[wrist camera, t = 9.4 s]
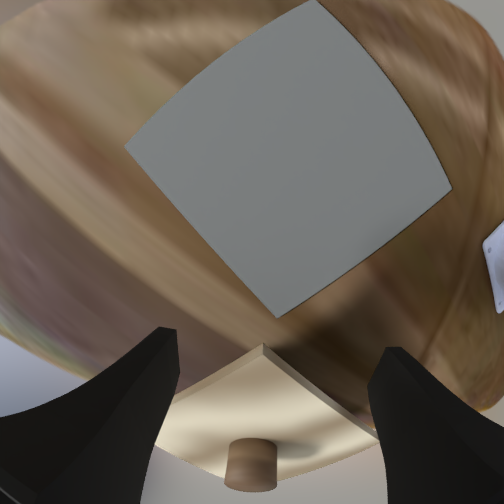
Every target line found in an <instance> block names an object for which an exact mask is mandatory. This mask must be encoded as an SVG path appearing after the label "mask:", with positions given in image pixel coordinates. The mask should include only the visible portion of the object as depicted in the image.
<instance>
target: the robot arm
mask: <svg viewBox="0 0 504 504" xmlns="http://www.w3.org/2000/svg"><path fill="white" fill-rule="evenodd" d="M488 249H489V250H488ZM483 251H484V254H485V258H486V262H487V266H488V270H489V275H490V279H491V284H492V289H493V295H494V300H495V306H496V311H497V313H501V312H502V311H503V310H504V221H503V222H502V223H501V224H500V225H499V226H498V227H497V228H496V229H495V230H494V231H493V232H492V234H491V235H490V236H489V237H488V238H487V239H486V240H485V241H484V242H483ZM179 374H180V367H179V356H178V345H177V332H176V330H175V329H170V328H164V327H158V328H157V329H155V330H154V331H153V332H152V333H151V334H149V335H148V336H147V337H146V338H145V339H143V340H142V341H141V342H140V343H139V344H137V345H136V346H135V347H134V348H133V349H131V350H130V351H129V352H128V353H126V354H125V355H124V356H123V357H121V358H120V359H119V360H117V361H116V362H115V363H114V364H112V365H111V366H109V367H108V368H107V369H105V370H104V371H102V372H101V373H100V374H98V375H97V376H95V377H94V378H92V379H91V380H89V381H88V382H86V383H84V384H83V385H81V386H79V387H78V388H76V389H74V390H72V391H70V392H69V393H67V394H65V395H63V396H61V397H58V398H56V399H54V400H51V401H49V402H47V403H45V404H42V405H40V406H37V407H35V408H32V409H29V410H26V411H23V412H20V413H16V414H13V415H9V416H5V417H0V504H140V500H141V495H142V490H143V485H144V481H145V476H146V472H147V468H148V464H149V460H150V456H151V453H152V450H153V447H154V445H155V442H156V440H157V437H158V435H159V432H160V430H161V427H162V425H163V422H164V420H165V417H166V415H167V412H168V410H169V407H170V405H171V402H172V400H173V397H174V393H175V390H176V386H177V382H178V378H179ZM367 387H368V395H369V402H370V408H371V413H372V416H373V420H374V424H375V427H376V431H377V435H378V438H379V442H380V446H381V449H382V453H383V457H384V462H385V468H386V477H387V492H388V504H504V427H502V426H500V425H499V424H497V423H495V422H493V421H491V420H489V419H488V418H486V417H485V416H483V415H481V414H480V413H479V412H477V411H476V410H474V409H473V408H471V407H470V406H468V405H467V404H466V403H464V402H463V401H462V400H461V399H459V398H458V397H457V396H456V395H455V394H453V393H452V392H451V391H450V390H449V389H447V388H446V387H445V386H444V385H443V384H442V383H441V382H440V381H438V380H437V379H436V378H435V377H434V376H433V375H432V374H431V373H430V372H429V371H428V370H426V369H425V368H424V367H423V366H422V365H421V364H420V363H419V362H418V361H417V360H416V359H414V358H413V357H412V356H411V355H410V354H409V353H408V352H406V351H405V350H404V349H403V348H401V347H386V348H385V351H384V353H383V355H382V357H381V359H380V362H379V364H378V366H377V368H376V370H375V372H374V374H373V376H372V378H371V380H370V382H369V384H368V386H367Z"/></svg>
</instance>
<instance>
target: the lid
mask: <svg viewBox="0 0 504 504" xmlns="http://www.w3.org/2000/svg"><path fill="white" fill-rule="evenodd" d="M378 443H380V442H379V438H378V435H377V432H376V431H374V430H373V429H372V428H370V427H369V426H367V425H366V424H365V423H363V422H362V421H360V420H359V419H358V418H356V417H355V416H354V415H352V414H351V413H350V412H348V411H347V410H346V409H344V408H343V407H342V406H340V405H339V404H338V403H336V402H335V401H334V400H332V399H331V398H330V397H328V396H327V395H326V394H325V393H323V392H322V391H321V390H319V389H318V388H317V387H316V386H314V385H313V384H312V383H311V382H309V381H308V380H307V379H306V378H304V377H303V376H302V375H301V374H299V373H298V372H297V371H296V370H295V369H293V368H292V367H291V366H290V365H288V364H287V363H286V362H285V361H284V360H282V359H281V358H280V357H279V356H278V355H276V354H275V353H274V352H273V351H272V350H271V349H269V348H268V347H267V346H266V345H265V344H264V343H262V344H261V345H259V346H258V347H256V348H254V349H253V350H251V351H250V352H248V353H247V354H245V355H243V356H242V357H240V358H239V359H237V360H235V361H234V362H232V363H230V364H229V365H227V366H225V367H224V368H222V369H220V370H219V371H217V372H215V373H214V374H212V375H210V376H208V377H207V378H205V379H203V380H201V381H200V382H198V383H196V384H194V385H193V386H191V387H189V388H187V389H185V390H184V391H182V392H180V393H178V394H176V395H174V397H173V400H172V402H171V405H170V407H169V410H168V412H167V415H166V417H165V420H164V422H163V425H162V427H161V430H160V432H159V435H158V437H157V440H156V442H155V445H156V446H158V447H160V448H161V449H163V450H165V451H167V452H169V453H171V454H172V455H174V456H176V457H178V458H180V459H182V460H184V461H186V462H188V463H190V464H192V465H195V466H196V467H199V468H201V469H203V470H205V471H207V472H210V473H212V474H214V475H217V476H219V477H222V478H224V479H225V481H224V484H225V485H226V486H227V487H229V488H231V489H234V490H238V491H243V492H265V491H270V490H273V489H275V488H276V487H277V481H280V480H284V479H288V478H291V477H294V476H298V475H301V474H304V473H307V472H310V471H313V470H316V469H319V468H322V467H325V466H327V465H330V464H333V463H335V462H338V461H340V460H343V459H345V458H348V457H350V456H352V455H355V454H357V453H359V452H361V451H364V450H366V449H368V448H370V447H372V446H374V445H376V444H378Z"/></svg>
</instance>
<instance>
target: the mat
mask: <svg viewBox="0 0 504 504" xmlns="http://www.w3.org/2000/svg"><path fill="white" fill-rule="evenodd" d="M124 147H125V148H126V150H127V151H128V152H129V153H130V154H131V156H132V157H133V158H134V159H135V160H136V161H137V163H138V164H139V165H140V166H141V167H142V169H143V170H144V171H145V172H146V173H147V174H148V176H149V177H150V178H151V179H152V180H153V181H154V183H155V184H156V185H157V186H158V187H159V188H160V190H161V191H162V192H163V193H164V194H165V195H166V196H167V198H168V199H169V200H170V201H171V202H172V203H173V204H174V206H175V207H176V208H177V209H178V210H179V211H180V212H181V214H182V215H183V216H184V217H185V218H186V219H187V220H188V222H189V223H190V224H191V225H192V226H193V227H194V228H195V229H196V231H197V232H198V233H199V234H200V235H201V236H202V237H203V238H204V240H205V241H206V242H207V243H208V244H209V245H210V246H211V247H212V248H213V250H214V251H215V252H216V253H217V254H218V255H219V256H220V257H221V258H222V259H223V261H224V262H225V263H226V264H227V265H228V266H229V267H230V268H231V269H232V270H233V272H234V273H235V274H236V275H237V276H238V277H239V278H240V279H241V280H242V281H243V282H244V284H245V285H246V286H247V287H248V288H249V289H250V290H251V291H252V292H253V293H254V294H255V295H256V296H257V298H258V299H259V300H260V301H261V302H262V303H263V304H264V305H265V306H266V307H267V308H268V309H269V310H270V311H271V312H272V314H273V315H274V316H275V317H276V318H279V317H280V316H282V315H283V314H285V313H287V312H288V311H290V310H291V309H293V308H294V307H296V306H297V305H299V304H300V303H302V302H303V301H305V300H306V299H308V298H309V297H311V296H312V295H314V294H315V293H317V292H318V291H320V290H321V289H323V288H324V287H326V286H327V285H329V284H330V283H332V282H333V281H334V280H336V279H337V278H339V277H340V276H342V275H343V274H344V273H346V272H347V271H349V270H350V269H351V268H353V267H354V266H356V265H357V264H358V263H360V262H361V261H362V260H364V259H365V258H367V257H368V256H369V255H371V254H372V253H373V252H375V251H376V250H377V249H379V248H380V247H381V246H383V245H384V244H385V243H387V242H388V241H389V240H390V239H392V238H393V237H394V236H396V235H397V234H398V233H399V232H401V231H402V230H403V229H405V228H406V227H407V226H408V225H410V224H411V223H412V222H413V221H415V220H416V219H417V218H418V217H419V216H421V215H422V214H423V213H424V212H426V211H427V210H428V209H429V208H430V207H432V206H433V205H434V204H435V203H436V202H437V201H439V200H440V199H441V198H442V197H443V196H445V195H446V194H447V193H448V192H449V191H450V190H451V189H452V187H451V185H450V183H449V181H448V179H447V176H446V174H445V172H444V170H443V168H442V166H441V164H440V162H439V160H438V158H437V156H436V154H435V152H434V150H433V149H432V147H431V145H430V143H429V141H428V139H427V138H426V136H425V134H424V132H423V131H422V129H421V127H420V126H419V124H418V122H417V121H416V119H415V118H414V116H413V114H412V113H411V111H410V110H409V108H408V107H407V105H406V104H405V102H404V101H403V99H402V98H401V96H400V95H399V93H398V92H397V90H396V89H395V88H394V86H393V85H392V84H391V82H390V81H389V79H388V78H387V77H386V75H385V74H384V73H383V72H382V70H381V69H380V68H379V66H378V65H377V64H376V63H375V62H374V60H373V59H372V58H371V57H370V55H369V54H368V53H367V52H366V51H365V50H364V48H363V47H362V46H361V45H360V44H359V43H358V42H357V41H356V39H355V38H354V37H353V36H352V35H351V34H350V33H349V32H348V31H347V30H346V29H345V28H344V27H343V26H342V25H341V24H340V23H339V22H338V21H337V20H336V19H335V18H334V17H333V16H332V15H331V14H330V13H329V12H328V11H327V10H326V9H325V8H324V7H323V6H322V5H320V4H319V3H318V2H317V1H316V0H309V1H307V2H305V3H304V4H302V5H300V6H298V7H296V8H294V9H292V10H291V11H289V12H287V13H285V14H283V15H282V16H280V17H278V18H277V19H275V20H273V21H272V22H270V23H268V24H267V25H265V26H264V27H262V28H260V29H259V30H257V31H256V32H254V33H253V34H251V35H250V36H248V37H247V38H245V39H244V40H242V41H241V42H240V43H238V44H237V45H235V46H234V47H233V48H231V49H230V50H228V51H227V52H226V53H224V54H223V55H222V56H220V57H219V58H218V59H216V60H215V61H214V62H213V63H211V64H210V65H209V66H208V67H206V68H205V69H204V70H203V71H201V72H200V73H199V74H198V75H197V76H195V77H194V78H193V79H192V80H191V81H190V82H188V83H187V84H186V85H185V86H184V87H183V88H182V89H180V90H179V91H178V92H177V93H176V94H175V95H174V96H173V97H172V98H171V99H170V100H168V101H167V102H166V103H165V104H164V105H163V106H162V107H161V108H160V109H159V110H158V111H157V112H156V113H155V114H154V115H153V116H152V117H151V118H150V119H149V120H148V121H147V122H146V123H145V124H144V125H143V126H142V127H141V128H140V130H139V131H138V132H137V133H136V134H135V135H134V136H133V137H132V138H131V139H130V140H129V141H128V143H127V144H126V145H125V146H124Z"/></svg>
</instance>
